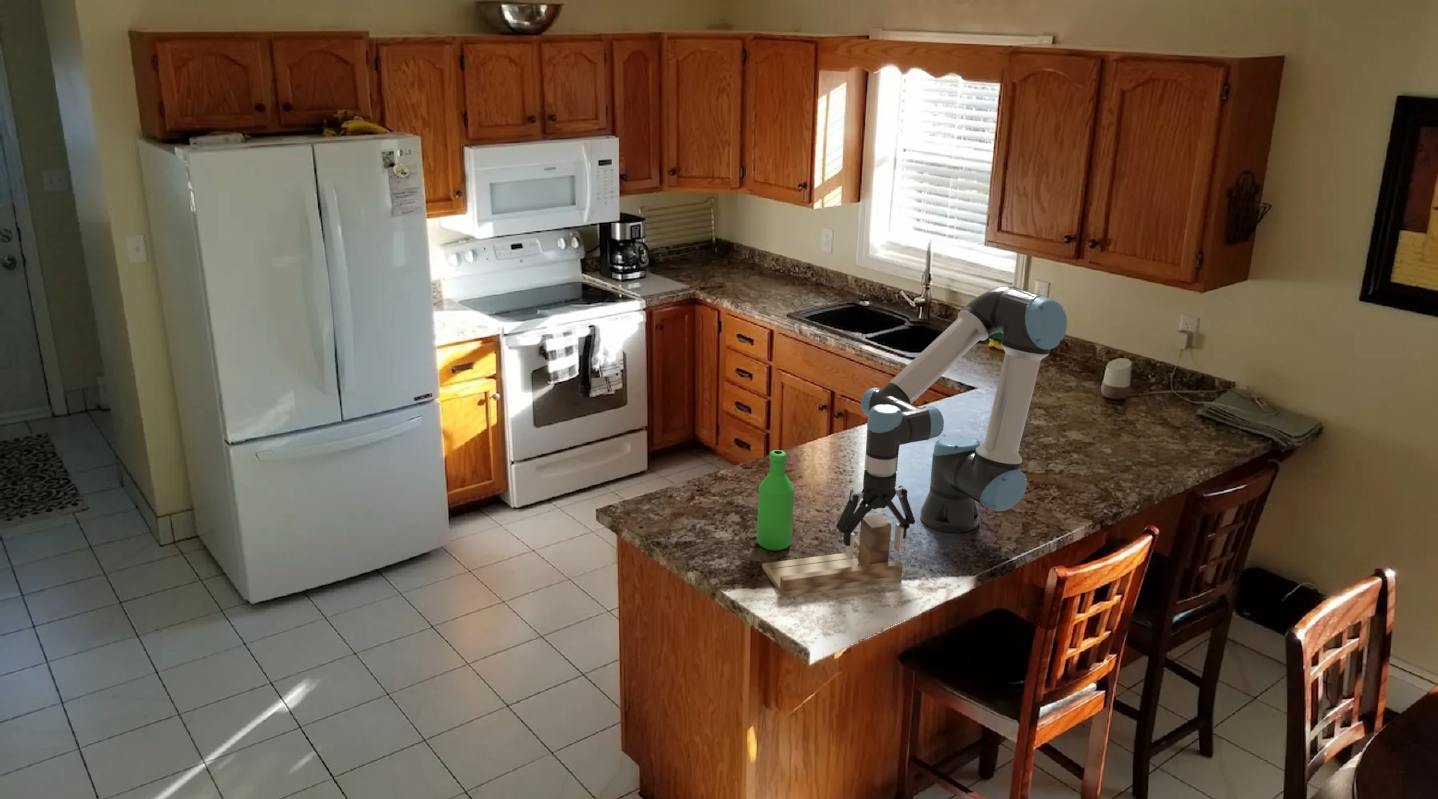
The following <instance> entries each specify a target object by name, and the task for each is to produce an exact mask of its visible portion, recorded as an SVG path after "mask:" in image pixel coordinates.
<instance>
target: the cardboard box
mask: <svg viewBox="0 0 1438 799" xmlns="http://www.w3.org/2000/svg"><path fill="white" fill-rule="evenodd" d="M891 534H892V524H891V523H889V521H888V520H886V518H885V517H884V516H882V514H876V515H875V514H874V515H873V514H872V515H865V516H864V518H863V519H862V520H861V522H860V530H859V538H857V537H855V538H854V549H855V548H856V549H857V550H858V551H859V553H858V563H859V564H860V565H869V564H876V563H884V562H889V558H890V548H891V547H890V546H891Z"/></svg>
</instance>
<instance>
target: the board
mask: <svg viewBox="0 0 1438 799" xmlns="http://www.w3.org/2000/svg"><path fill="white" fill-rule="evenodd" d="M845 553H846V552H841V553H835V554H834V553H833V554H826V555H819V556H818V555H817V556H810V557H803V558H797V559H796V558H795V559H787V560H780V561H779V560H777V561H772V562H765V563H762V566H761V567H762V569H763V571H764V572H765V574H766V576H768V578H769V580H770V581H771V583H772V584H773V585H774V587H775V588H776V589H777V591H778V592H779V594H780V595H781V596H782V597H791V596H796V595H804V594H811V593H819V592H827V591H833V590H841V589H847V588H855V587H861V586H868V585H877V584H883V583H888V582H889V583H891V582H898V581H902V574H903V573H902V572H903V563H902V562H901V561H900V560H892V561H888V562H884V563H876V564H869V565H860V564H859V563H858V553H859V550H858V551H857V550H856V551H853V559H851V560H850V559H849V558H848V557H847V556H846V555H845Z"/></svg>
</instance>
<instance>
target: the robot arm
mask: <svg viewBox="0 0 1438 799" xmlns="http://www.w3.org/2000/svg"><path fill="white" fill-rule="evenodd" d="M1067 327H1068V317H1067V313H1066V310H1065V309H1064V308H1063V306H1062V304H1061V303H1060V302H1059V301H1057V300H1055V299H1052V298H1049V297H1048V296H1046V295H1042V294H1038V293H1035V292H1031V291H1028V290H1024V289H1021V288H1019V287H1016V286H1010V285H1008V286H1007V285H1006V286H1005V285H1003V286H1000V287H999V286H998V287H994V288H992V289H989V290H987V291H986V292H983V293H981V294H980V295H978V296H976V297H975V298H974V299H972V300H970V302H969V303H968V304H966V305H965V306H963V307H962V309H960V310H959V311H958V312H957V319H956V320H954V322H952V323H951V324H950V325H949V326H948V327H947V328H945V330H943V331H942V333H941V334H939V335H938V336H937V337H936V338H935V339H934V340H933V341H932V342H931V343H930V344H929V345H928V346H926V348H924V350H922V351H921V352H920V353H918V355H917V356H916V357H915V358H914V359H912V361H910V362H909V363H908V365H906V366H905V367H904V368H903V369H902V370H901V371H900V372H899V373H898V374H896V376H894V378H892V379H891V380H890V381H889V382H888V383H887V384H886V385H884V387H883V388H882V387H881V388H880V387H872V388H868V390H866V391H865V392H864V393H863V395H862V397H861V399H860V408H861V411H862V413H863V414H864V415H865V416H867V418H868V419H867V424H866V441H865V442H866V444H865V453H864V454H865V455H864V456H865V457H864V471H863V479H862V480H863V481H862V482H863V483H862V485H863V487H862V490H861V491H860V492H855V491H854V490H851V491H850V492H849V496H848V501H847V503H846V505H845V507H844V510H843V512H842V513H841V516H840V517H839V520H838V521H837V524H836V529H837V530H838V531H839V532H840V533H841V534H843V536H842V542H843V544H844V546H845V552H844V553H845V555H846V556H847V557H848V558H849V559H850V560H851V559H853V552H855V551H854V550H855V548H854V538H856V537H855V536H856V534H855V533H854V531H855V529H856V528H857V527H858V526H859V524H861V520H862V519H863V518H864V517H865V516H867V514H868V513H870V512H871V511H872V510H878V509H886V508H888V509H889V510H890V512H891V513H892V514H893V516H894V517H895V518H896V520H897V521H898V523H895V530H894V541H893V542H894V543H893V549H894V550H895V551H896V552H897V554H902V552H903V541H904V540H905V539H906V538H907V531H908V529H909V528H911V527H910V525H914V524H915V523H916V519H915V516H914V514H913V512H912V509H911V508H912V507H911V506H910V505H911V504H910V502H909V500H908V490H907V489H906V488H905V487H904V486H903V485H899V486H898V487H896V485H897V484H896V483H897V471H898V461H899V451H900V446H902V445H905V444H910V443H911V444H912V443H917V442H921V441H928V440H931V439H935V438H938V437H939V436H940V435H942V433H943V431H944V428H945V427H944V425H945V419H944V417H943V414H942V412H941V411H940V409H938V408H937V407H935V406H923V407H919V406H916V405H914V404H913V403H914V402H915V401H916V400H917V399H918V398H920V397H921V395H922V394H924V393H925V391H927V390H928V389H929V388H930V387H931V386H932V385H933V384H934V383H936V382H937V380H939V378H941V376H943V375H944V374H945V373H946V372H947V371H948V370H950V368H952V366H954V364H956V363H957V362H958V361H959V360H960V359H961V358H962V357H963V356H964V355H965V354H966V353H967V352H969V351H970V349H971V348H972V347H974V346H975V345H976V344H977V343H978V342H979V341H986V340H987V339H988V338H990V336H992V335H994V334H996V333H1000V334H1002V338H1001V342H1000V345H1001V347H1002V348H1003V350H1004V358H1003V362H1002V365H1001V370H1000V373H999V378H998V382H997V387H996V390H995V395H994V399H993V401H992V407H991V411H990V415H989V418H988V423H987V426H986V427H987V428H986V432H985V436H984V440H983V444H981V442H980V441H979V440H978V439H976V438H973V437H970V436H963V435H961V436H960V435H958V436H956V435H955V436H954V435H953V436H945V437H942V438H939V439H938V440H937V441H935V444H934V448H933V453H932V459H931V472H930V482H929V484H930V485H929V491H928V494H927V496H926V498H925V499H924V500H925V501H924V503H923V505H922V506H921V509H920V517H919V518H920V520H921V522H922V523H923V524H924V525H926V526H927V527H929V528H930V529H933V530H937V531H940V532H945V533H951V534H953V533H954V534H956V533H957V534H958V533H959V534H960V533H962V534H963V533H966V532H970V531H973V530H976V529H977V527H978V526H979V519H980V516H979V510H978V506H977V503H979V504H981V505H982V506H983V507H986V508H989V509H990V510H993V511H996V512H1004V511H1008V510H1009V509H1012V508H1013V507H1014V506H1015V505H1016V504H1019V501H1021V499H1022V498H1023V497H1024V494H1025V492H1026V490H1027V487H1028V486H1027V485H1028V479H1027V476H1026V475H1025V473H1024V472H1023V471H1022V470H1021V468H1022V464H1023V458H1022V456H1021V455H1020V453H1019V449H1020V445H1021V441H1022V437H1023V433H1024V430H1025V425H1026V422H1027V418H1028V414H1029V411H1030V410H1029V409H1030V406H1031V401H1032V398H1033V394H1034V390H1035V386H1036V383H1037V382H1036V381H1037V378H1038V377H1037V376H1038V374H1039V370H1040V365H1041V361H1042V360H1043V359H1045V358H1046V357H1048V356H1049V355H1050V353H1051V350H1052V349H1054V348H1056V347H1057V346H1059V345H1060V341H1061V342H1062V341H1063V340H1064V338H1065V335H1066V332H1067ZM895 496H897V497H898V499H899V500H898V501H899V502H900V505H901V508H902V511H903V514H904V516H905V518H904V517H903V515H902V514H901V512H900V510H898V508H897V506H896V505H895V503H894V502H893V501H892V500H893V499H894V498H895ZM861 499H862V500H861ZM858 504H859V506H858ZM857 507H858V508H857Z"/></svg>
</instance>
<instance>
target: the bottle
mask: <svg viewBox="0 0 1438 799" xmlns="http://www.w3.org/2000/svg"><path fill="white" fill-rule="evenodd" d="M787 457H788V456H787V452H785V451H784V450H781V449H780V450H779V449H774V450H771V451H770V453H769V456H768V459H769V473H768V474H767V475H766V476H765V478H764V479H763V480H762V481H761V483H759V485H758V499H757V500H758V501H757V503H758V504H757V521H756V522H757V524H756V525H757V526H756V543H757V544H758V545H759V546H760V547H762V548H763V549H764V550H765V549H766V550H768V551H773V552H776V551H782V550H785V549H787V548H789V546H790V545H792V540H793V539H792V538H793V537H792V536H793V524H794V523H793V521H794V520H793V518H794V507H795V506H794V504H795V503H794V501H795V500H794V499H795V486H794V485H793V483H792V482H791V480H790V479H789V477H788V476H787V474H786V462H787V460H788V459H787Z"/></svg>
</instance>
